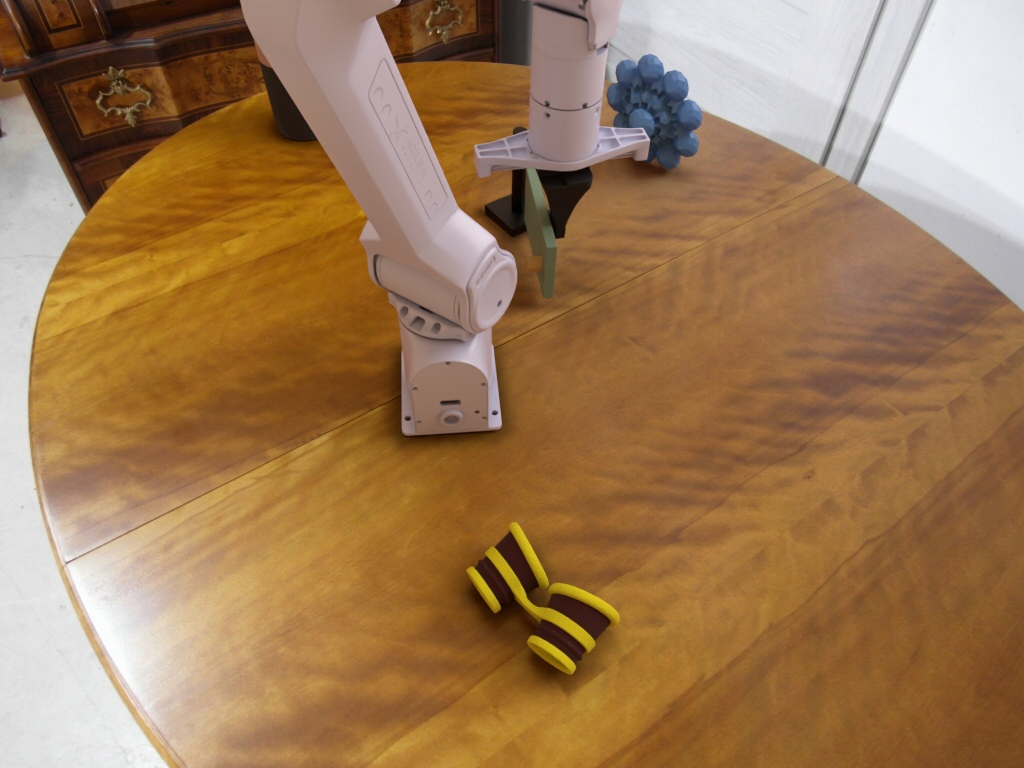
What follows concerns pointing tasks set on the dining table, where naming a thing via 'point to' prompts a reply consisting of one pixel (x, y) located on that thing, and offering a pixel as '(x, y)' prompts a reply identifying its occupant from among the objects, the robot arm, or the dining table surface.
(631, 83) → the grapes
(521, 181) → the hinge post
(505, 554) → the opera glasses
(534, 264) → the gate door
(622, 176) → the dining table surface
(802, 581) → the dining table surface
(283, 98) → the travel mug
